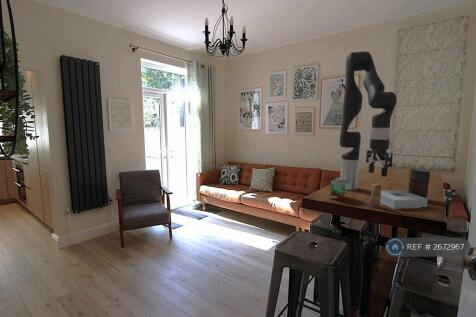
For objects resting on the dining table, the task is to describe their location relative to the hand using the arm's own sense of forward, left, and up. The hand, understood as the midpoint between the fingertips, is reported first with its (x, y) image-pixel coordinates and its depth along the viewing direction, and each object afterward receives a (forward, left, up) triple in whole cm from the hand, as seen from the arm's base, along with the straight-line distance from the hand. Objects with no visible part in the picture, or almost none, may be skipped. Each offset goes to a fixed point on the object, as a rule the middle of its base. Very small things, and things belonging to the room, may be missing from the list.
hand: (377, 174), depth 111 cm
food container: (-15, -9, -15) cm, 23 cm away
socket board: (-4, +14, -15) cm, 21 cm away
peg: (0, 0, -15) cm, 15 cm away
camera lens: (-8, +28, -15) cm, 33 cm away
